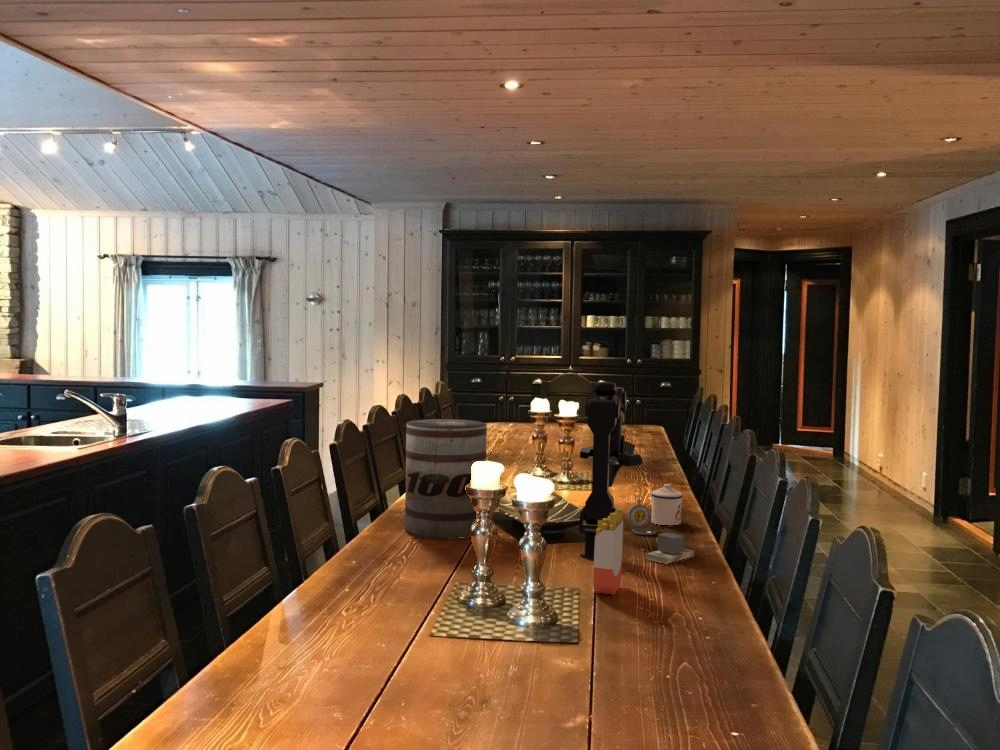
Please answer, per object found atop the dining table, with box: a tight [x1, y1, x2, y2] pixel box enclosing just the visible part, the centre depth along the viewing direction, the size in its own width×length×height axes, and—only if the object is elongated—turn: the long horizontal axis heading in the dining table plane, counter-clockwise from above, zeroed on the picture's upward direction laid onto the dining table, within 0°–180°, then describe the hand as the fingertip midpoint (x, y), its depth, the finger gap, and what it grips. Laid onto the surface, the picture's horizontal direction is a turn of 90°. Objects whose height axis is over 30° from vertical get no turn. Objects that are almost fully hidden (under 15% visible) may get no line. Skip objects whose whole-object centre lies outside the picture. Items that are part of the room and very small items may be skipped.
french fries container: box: [592, 508, 624, 596], centre depth 195 cm, size 5×11×18 cm, turn 161°
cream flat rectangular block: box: [645, 547, 695, 565], centre depth 223 cm, size 12×6×2 cm, turn 131°
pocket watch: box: [627, 495, 657, 536], centre depth 250 cm, size 8×8×10 cm
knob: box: [657, 531, 685, 554], centre depth 223 cm, size 4×5×4 cm
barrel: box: [404, 418, 488, 540], centre depth 248 cm, size 22×22×30 cm
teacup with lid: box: [650, 483, 683, 527], centre depth 263 cm, size 12×9×12 cm
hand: (609, 486), depth 249 cm, fingers closed
